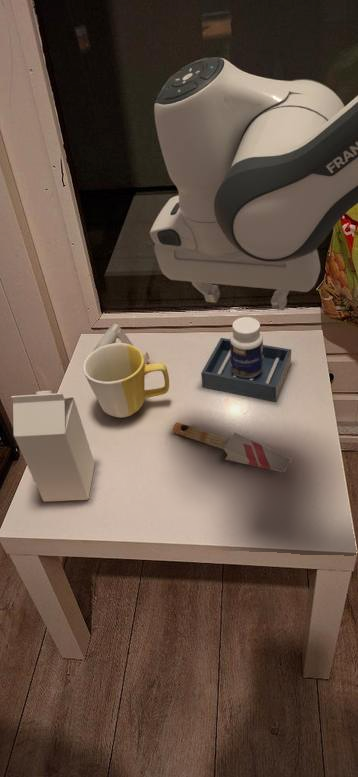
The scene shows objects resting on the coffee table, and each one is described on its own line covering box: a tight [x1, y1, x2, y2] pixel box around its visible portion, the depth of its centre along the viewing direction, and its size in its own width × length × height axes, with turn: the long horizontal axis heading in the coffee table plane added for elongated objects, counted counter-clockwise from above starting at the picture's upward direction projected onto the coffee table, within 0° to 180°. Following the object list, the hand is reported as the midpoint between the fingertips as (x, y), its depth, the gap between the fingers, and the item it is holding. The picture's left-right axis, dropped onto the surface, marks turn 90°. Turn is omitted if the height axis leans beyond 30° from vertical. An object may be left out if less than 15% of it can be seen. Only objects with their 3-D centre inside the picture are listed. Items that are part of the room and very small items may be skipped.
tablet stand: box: [92, 323, 150, 365], centre depth 101 cm, size 9×8×8 cm
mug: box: [82, 342, 170, 418], centre depth 93 cm, size 14×10×10 cm
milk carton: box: [10, 390, 96, 502], centre depth 79 cm, size 7×7×19 cm
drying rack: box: [200, 337, 292, 403], centre depth 98 cm, size 14×11×4 cm
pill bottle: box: [229, 316, 264, 378], centre depth 95 cm, size 6×6×10 cm
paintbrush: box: [172, 421, 292, 473], centre depth 86 cm, size 4×3×20 cm
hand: (245, 302), depth 72 cm, fingers open, 8 cm apart
